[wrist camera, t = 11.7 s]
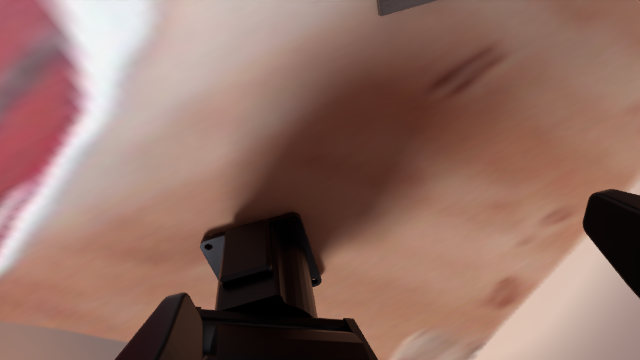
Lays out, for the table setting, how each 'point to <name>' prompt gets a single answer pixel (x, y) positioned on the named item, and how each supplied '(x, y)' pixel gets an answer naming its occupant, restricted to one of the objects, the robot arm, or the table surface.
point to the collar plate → (397, 5)
